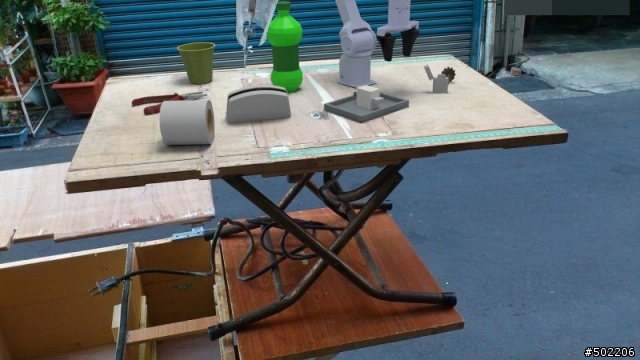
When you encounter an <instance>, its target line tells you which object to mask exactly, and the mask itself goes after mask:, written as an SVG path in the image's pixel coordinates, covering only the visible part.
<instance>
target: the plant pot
mask: <svg viewBox="0 0 640 360" xmlns="http://www.w3.org/2000/svg"><path fill="white" fill-rule="evenodd" d="M215 47H216V44H215V43H214V42H208V41H207V42H206V41H205V42H204V41H203V42H202V41H200V42H199V41H198V42H190V43H185V44H181V45H179V46H177V47H176V50H177V51H178V53H179V55H180V57H181V59H182V63H183V65H184V69H185V72H186V74H187V79H188V81H189V83H191V85H192V84H196V85H203V84H208V83H209V82H212V81H213V76H214V75H213V74H214V73H213V71H214V69H213V67H214V65H213V64H214V54H215V53H214V52H215Z"/></svg>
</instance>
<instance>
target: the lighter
mask: <svg viewBox="0 0 640 360" xmlns="http://www.w3.org/2000/svg"><path fill="white" fill-rule="evenodd" d="M423 68H424V70H425V73H426V76H427V78H428V80H429V81H432V90H431V92H432V94H448V93H449V83H448V81H449V78H448V77H446V75H444V74H441V73H438V74H437V76H433V73H432V71H431V69H430V66H429V64H425V65H424V66H423Z"/></svg>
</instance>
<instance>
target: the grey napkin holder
mask: <svg viewBox="0 0 640 360" xmlns="http://www.w3.org/2000/svg"><path fill="white" fill-rule="evenodd" d="M291 111H292V110H291V105H290V97H289V94H288V92H287V91H286V89H285V88H283V87H279V86H274V85H273V84H272V85H271V84H270V85H269V84H258V85H256V84H255V85H251V86H245V87H241V88H238V89H235V90H231V91H230V92H229V93H228V94H227V99H226V114H225V118H226V122H227V123H232V124H233V123H242V122H249V121H260V120H269V119H270V120H272V119H279V118H281V119H283V118H291V116H292V112H291Z"/></svg>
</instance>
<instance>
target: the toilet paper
mask: <svg viewBox="0 0 640 360" xmlns="http://www.w3.org/2000/svg"><path fill="white" fill-rule="evenodd" d="M215 122H216V121H215V112H214V107H213V104H212V101H211V100H210V99H194V100H186V101H164V102H163V103H162V105H161V108H160V113H159V130H160V135H161V136H160V137H161V139H162V141H163V143H164V145H166V146H182V145H183V146H185V145H188V146H189V145H212V144H213V143H214V139H215V130H216V129H215Z"/></svg>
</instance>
